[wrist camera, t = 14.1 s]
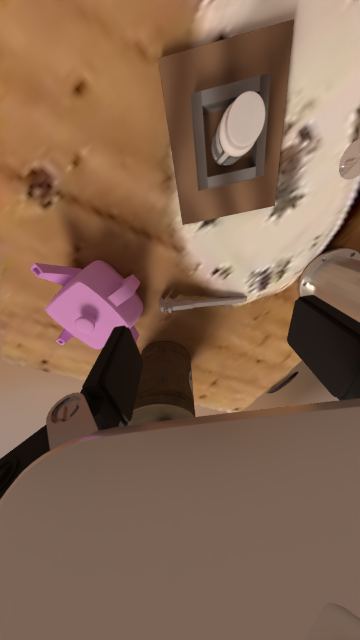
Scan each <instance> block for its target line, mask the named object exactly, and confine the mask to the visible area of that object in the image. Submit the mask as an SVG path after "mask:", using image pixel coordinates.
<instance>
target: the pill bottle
mask: <svg viewBox="0 0 360 640" xmlns="http://www.w3.org/2000/svg"><path fill="white" fill-rule="evenodd" d="M264 121H265V105H264V102H263V100H262V98H261V96H260V95H259V94H258V93H256V92H253V91H247V92H244V93H242V94H241V95H240V96H238V97H237V99H236V100H235V101H234V102H233V103H232V104H231V105H230V106H229V107H228V108H227V110H226V111H225V113H224V115H223V117H222V119H221V121H220V123H219V125H218V127H217V129H216V131H215V133H214V136H213V139H212V145H211V150H212V155H213V158H214V160H215V161H216V162H217V163H218V164H219V165H220V166H230V165H232V164H234V163H235V162H236V161H237V160H238V159H240V158H241V157H242V156H243V155H244V154H246V153H247V152H248V151H249V150H250V149H251V147H252V146H253V145H254V143H255V141H256V139H257V138H258V136H259V135H260V133H261V131H262V128H263V125H264Z"/></svg>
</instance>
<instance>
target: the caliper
mask: <svg viewBox="0 0 360 640" xmlns="http://www.w3.org/2000/svg"><path fill="white" fill-rule="evenodd" d="M246 299H247V297H229V298H218V299H207V300H196V301H190V300H181V301H177V302H176V301H174V300H173V299H172V298H170V297H168V303H165V302H164V300H163V298H160V302H159V306H160V309H161V312H162V311H164V312H165V314H166V313H167V311H168V312H169V313H171V310H172V311H175V310H184V309H192V308H194V307H205V306H215V305H225V304H236V303H243V302H245V301H246Z"/></svg>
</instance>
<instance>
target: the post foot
mask: <svg viewBox="0 0 360 640" xmlns="http://www.w3.org/2000/svg"><path fill="white" fill-rule="evenodd" d="M293 26H294V19H293V20H290V21H286V22H283V23H279V24H276V25H272V26H269V27H265V28H262V29H258V30H255V31H251V32H248V33H245V34H241V35H238V36H234V37H231V38H227V39H224V40H220V41H217V42H213V43H210V44H206V45H203V46H199V47H196V48H192V49H189V50H186V51H182V52H179V53H175V54H172V55H168V56H165V57H161V58H158V61H159V69H160V76H161V83H162V89H163V96H164V103H165V109H166V116H167V123H168V130H169V136H170V143H171V150H172V156H173V163H174V170H175V177H176V183H177V190H178V197H179V203H180V210H181V217H182V224H183V225H184V224H189V223H194V222H199V221H204V220H209V219H213V218H218V217H223V216H228V215H233V214H238V213H242V212H247V211H252V210H257V209H262V208H267V207H271V206H275V198H276V189H277V179H278V169H279V160H280V150H281V141H282V131H283V122H284V112H285V102H286V93H287V83H288V74H289V64H290V55H291V45H292V35H293ZM247 91H253V92H256V93H258V94H259V95H260V96H261V98H262V100H263V102H264V105H265V121H264V125H263V128H262V131H261V133H260V135H259V136H258V138H257V139H256V141H255V143H254V145H253V146H252V147H251V149H250V150H249V151H248V152H247V153H246V154H244V155H243V156H242V157H241V158H240V159H238V160H237V161H236V162H235V163H234V164H232V165H230V166H220V165H219V164H218V163H217V162H216V161H215V160H214V158H213V155H212V150H211V145H212V139H213V136H214V133H215V131H216V129H217V127H218V125H219V123H220V121H221V119H222V117H223V115H224V113H225V111H226V110H227V108H228V107H229V106H230V105H231V104H232V103H233V102H234V101H235V100H236V99H237V97H238V96H240V95H241V94H242V93H244V92H247Z"/></svg>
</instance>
